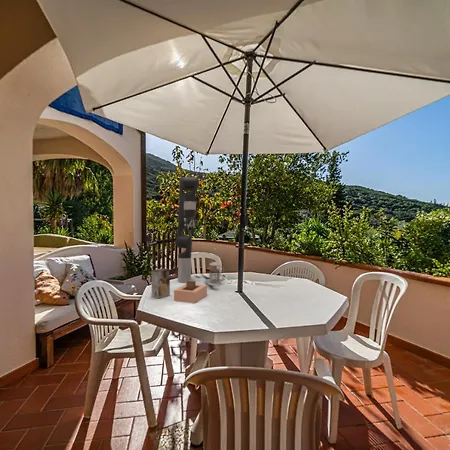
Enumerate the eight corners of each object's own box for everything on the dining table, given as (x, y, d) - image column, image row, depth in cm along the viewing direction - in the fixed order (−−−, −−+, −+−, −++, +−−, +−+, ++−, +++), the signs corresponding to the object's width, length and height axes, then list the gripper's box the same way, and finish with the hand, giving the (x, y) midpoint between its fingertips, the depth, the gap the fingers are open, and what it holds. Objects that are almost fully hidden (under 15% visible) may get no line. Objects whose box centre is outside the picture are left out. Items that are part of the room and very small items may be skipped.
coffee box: (162, 293, 195) (163, 267, 194) (170, 295, 191) (170, 269, 190) (151, 296, 188) (151, 270, 187) (158, 298, 184) (158, 271, 183)
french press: (205, 282, 226) (206, 247, 224) (220, 281, 231) (221, 247, 229) (210, 285, 217) (211, 249, 216) (226, 284, 222) (226, 248, 220)
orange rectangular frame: (187, 292, 198) (187, 283, 197) (206, 295, 194) (207, 285, 193) (173, 300, 181) (173, 290, 180) (194, 303, 177) (194, 292, 176)
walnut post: (189, 296, 190) (189, 279, 189) (195, 297, 189) (195, 280, 188) (186, 298, 186) (186, 281, 186) (192, 298, 185) (192, 281, 184)
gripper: (189, 208, 208) (189, 233, 209) (179, 208, 195) (179, 235, 196) (199, 209, 206) (199, 233, 207) (190, 208, 192) (190, 235, 193)
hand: (189, 234), depth 201 cm, fingers open, 8 cm apart
